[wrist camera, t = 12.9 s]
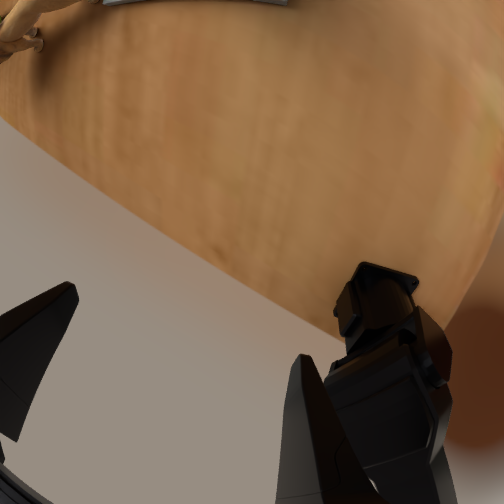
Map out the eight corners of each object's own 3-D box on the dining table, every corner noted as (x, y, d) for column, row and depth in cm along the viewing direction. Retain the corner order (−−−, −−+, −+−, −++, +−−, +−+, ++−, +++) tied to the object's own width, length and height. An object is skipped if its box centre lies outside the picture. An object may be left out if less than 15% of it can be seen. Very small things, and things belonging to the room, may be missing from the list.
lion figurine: (23, 84, 15) (-43, 105, 8) (14, 53, 13) (-48, 66, 6) (122, -16, 11) (45, -38, 3) (108, -44, 8) (40, -66, 1)
